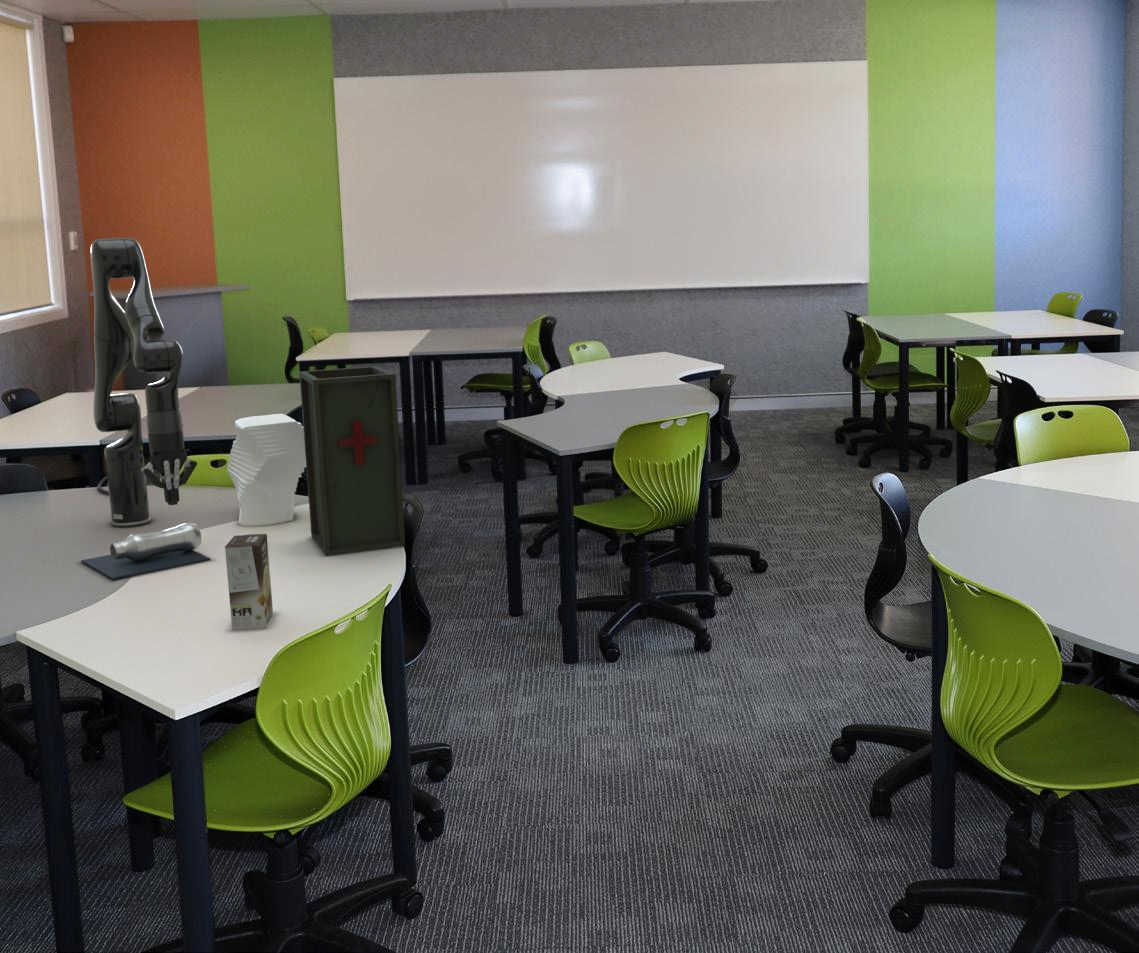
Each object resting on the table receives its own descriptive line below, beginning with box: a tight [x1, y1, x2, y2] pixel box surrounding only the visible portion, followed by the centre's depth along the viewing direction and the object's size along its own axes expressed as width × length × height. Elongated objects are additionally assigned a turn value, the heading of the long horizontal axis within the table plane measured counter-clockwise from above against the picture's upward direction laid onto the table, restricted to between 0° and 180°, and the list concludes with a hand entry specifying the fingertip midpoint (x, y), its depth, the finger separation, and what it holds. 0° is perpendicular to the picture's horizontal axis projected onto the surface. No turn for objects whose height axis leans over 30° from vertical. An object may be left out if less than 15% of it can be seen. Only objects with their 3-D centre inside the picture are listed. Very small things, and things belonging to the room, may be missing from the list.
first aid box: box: [298, 365, 406, 557], centre depth 283 cm, size 18×18×40 cm
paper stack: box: [226, 413, 306, 527], centre depth 313 cm, size 21×27×26 cm
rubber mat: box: [80, 550, 211, 581], centre depth 275 cm, size 20×22×1 cm
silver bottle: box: [109, 522, 203, 561], centre depth 276 cm, size 6×7×20 cm
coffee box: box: [224, 533, 274, 631], centre depth 229 cm, size 9×6×16 cm
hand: (172, 504), depth 277 cm, fingers closed
